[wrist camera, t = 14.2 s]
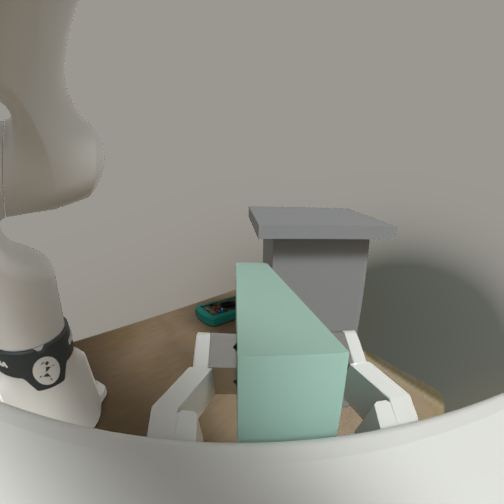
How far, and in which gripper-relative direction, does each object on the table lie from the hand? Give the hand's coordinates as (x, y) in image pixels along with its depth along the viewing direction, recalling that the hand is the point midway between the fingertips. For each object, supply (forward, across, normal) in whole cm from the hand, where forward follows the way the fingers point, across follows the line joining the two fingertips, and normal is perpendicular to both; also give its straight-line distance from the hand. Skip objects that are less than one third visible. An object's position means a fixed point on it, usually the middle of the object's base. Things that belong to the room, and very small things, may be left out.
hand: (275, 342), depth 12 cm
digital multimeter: (+44, +2, +43) cm, 61 cm away
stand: (+20, -9, +34) cm, 40 cm away
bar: (+6, 0, +6) cm, 8 cm away
